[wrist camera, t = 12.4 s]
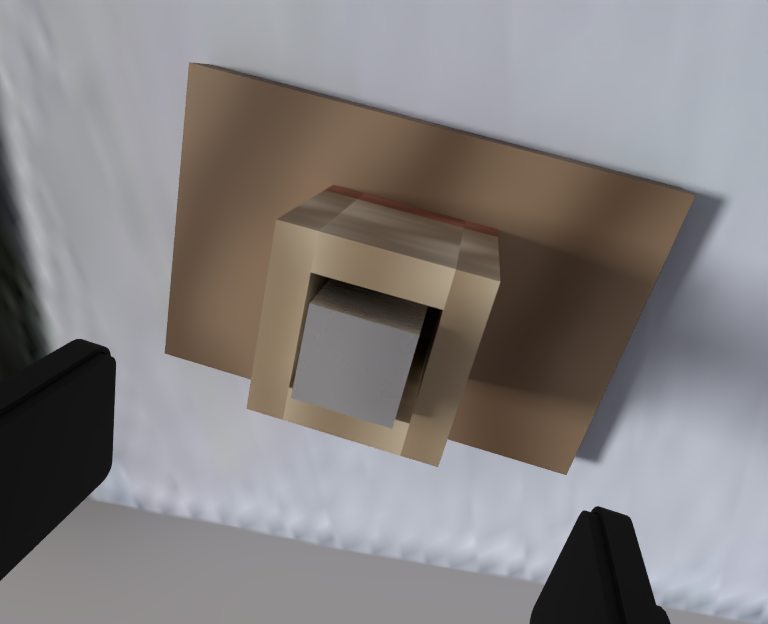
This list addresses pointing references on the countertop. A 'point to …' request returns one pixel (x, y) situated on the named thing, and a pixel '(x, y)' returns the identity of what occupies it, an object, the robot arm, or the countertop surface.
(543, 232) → the pin board
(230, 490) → the countertop surface
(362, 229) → the sleeve
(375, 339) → the steel pin
